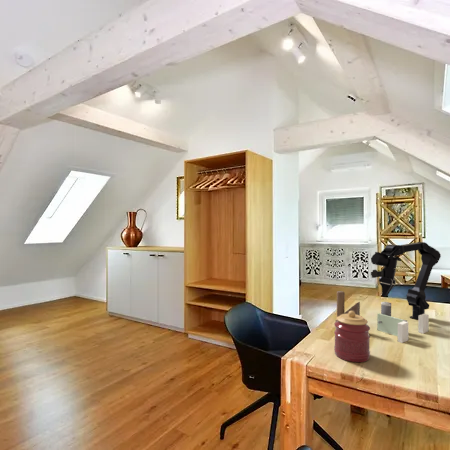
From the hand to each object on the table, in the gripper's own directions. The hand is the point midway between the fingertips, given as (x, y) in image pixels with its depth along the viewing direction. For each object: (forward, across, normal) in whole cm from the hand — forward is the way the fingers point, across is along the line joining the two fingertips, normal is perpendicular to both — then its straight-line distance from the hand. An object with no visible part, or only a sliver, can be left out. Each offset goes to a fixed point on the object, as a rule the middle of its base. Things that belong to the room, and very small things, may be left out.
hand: (384, 296), depth 163 cm
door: (+15, +18, +7) cm, 25 cm away
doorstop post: (+15, +12, +4) cm, 19 cm away
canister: (+22, +53, -2) cm, 57 cm away
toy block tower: (+19, +22, -11) cm, 31 cm away
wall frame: (+13, +15, +16) cm, 26 cm away
